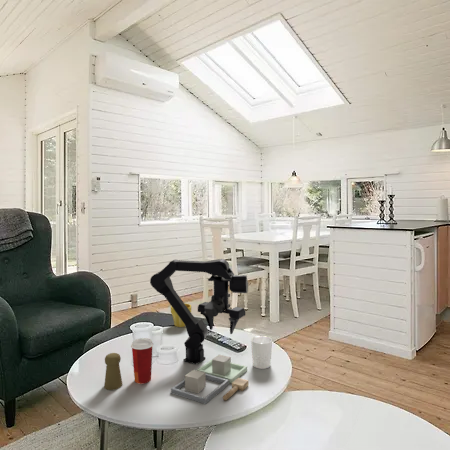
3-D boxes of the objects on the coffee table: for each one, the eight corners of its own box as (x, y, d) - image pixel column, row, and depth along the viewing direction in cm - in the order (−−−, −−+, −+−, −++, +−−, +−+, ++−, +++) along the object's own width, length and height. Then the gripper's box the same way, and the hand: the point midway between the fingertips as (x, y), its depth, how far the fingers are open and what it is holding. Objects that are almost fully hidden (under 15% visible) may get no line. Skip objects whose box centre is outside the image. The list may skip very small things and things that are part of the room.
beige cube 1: (219, 367, 144) (219, 354, 144) (230, 370, 142) (230, 357, 142) (212, 372, 140) (212, 359, 140) (224, 375, 138) (224, 362, 137)
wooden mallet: (229, 403, 120) (229, 397, 120) (218, 399, 122) (218, 394, 122) (248, 385, 131) (248, 380, 131) (238, 382, 133) (238, 377, 133)
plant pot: (191, 328, 189) (190, 308, 188) (169, 328, 188) (169, 309, 188) (192, 321, 199) (191, 302, 199) (171, 321, 199) (171, 303, 198)
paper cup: (157, 377, 138) (157, 338, 137) (146, 387, 130) (146, 346, 129) (138, 373, 140) (138, 336, 139) (127, 383, 133) (126, 344, 132)
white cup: (271, 370, 142) (271, 344, 142) (250, 368, 144) (249, 342, 143) (272, 361, 150) (272, 336, 149) (252, 360, 152) (252, 335, 151)
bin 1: (170, 392, 126) (170, 388, 126) (196, 375, 139) (196, 371, 139) (205, 404, 119) (205, 399, 119) (228, 384, 132) (228, 380, 132)
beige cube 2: (185, 390, 128) (184, 375, 128) (193, 383, 133) (193, 369, 132) (197, 393, 126) (197, 378, 126) (205, 386, 130) (205, 372, 130)
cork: (106, 391, 127) (105, 359, 127) (102, 383, 133) (101, 352, 132) (124, 387, 130) (123, 355, 129) (120, 379, 136) (119, 349, 135)
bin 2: (196, 373, 140) (196, 369, 140) (213, 361, 150) (213, 358, 150) (231, 383, 133) (231, 379, 132) (247, 370, 142) (247, 366, 142)
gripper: (188, 293, 146) (189, 333, 147) (231, 300, 136) (231, 343, 138) (205, 287, 156) (205, 325, 157) (246, 293, 146) (246, 333, 147)
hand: (221, 331), depth 149 cm, fingers open, 9 cm apart
